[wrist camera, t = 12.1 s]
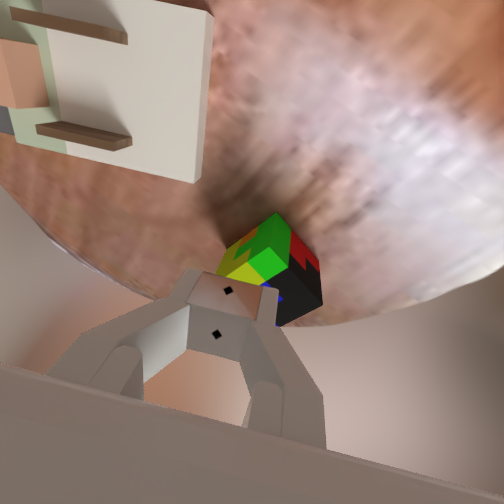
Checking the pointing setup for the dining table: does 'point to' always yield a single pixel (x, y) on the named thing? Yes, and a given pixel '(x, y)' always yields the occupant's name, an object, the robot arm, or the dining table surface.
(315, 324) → the dining table surface
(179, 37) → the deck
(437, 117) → the dining table surface
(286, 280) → the puzzle toy
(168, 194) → the dining table surface
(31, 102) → the block
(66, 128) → the channel walls
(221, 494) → the robot arm
